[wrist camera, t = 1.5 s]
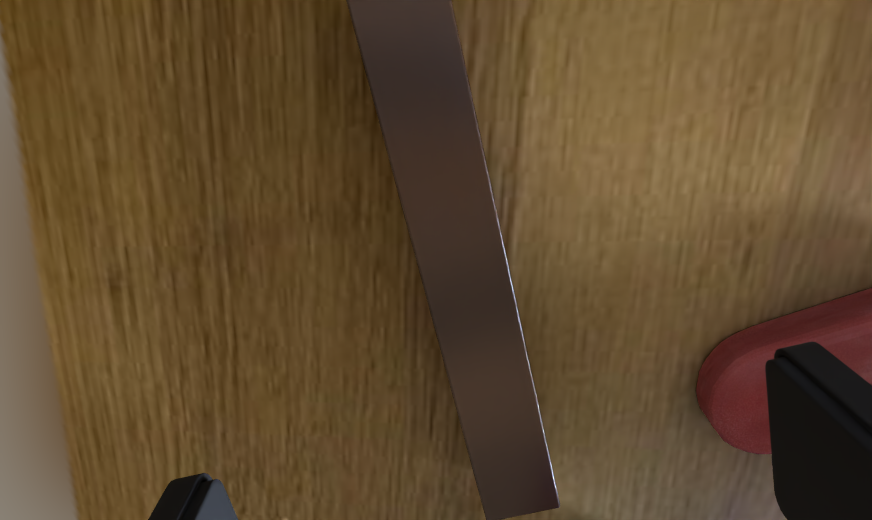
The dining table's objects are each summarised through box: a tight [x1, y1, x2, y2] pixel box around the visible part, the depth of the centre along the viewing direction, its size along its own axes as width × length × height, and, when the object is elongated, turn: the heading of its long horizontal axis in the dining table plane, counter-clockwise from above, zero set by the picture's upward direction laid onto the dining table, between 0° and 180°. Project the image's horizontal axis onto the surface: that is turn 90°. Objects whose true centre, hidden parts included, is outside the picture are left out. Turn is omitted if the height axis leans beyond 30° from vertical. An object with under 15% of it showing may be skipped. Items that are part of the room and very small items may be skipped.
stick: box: [346, 0, 560, 520], centre depth 19 cm, size 16×2×2 cm, turn 14°
